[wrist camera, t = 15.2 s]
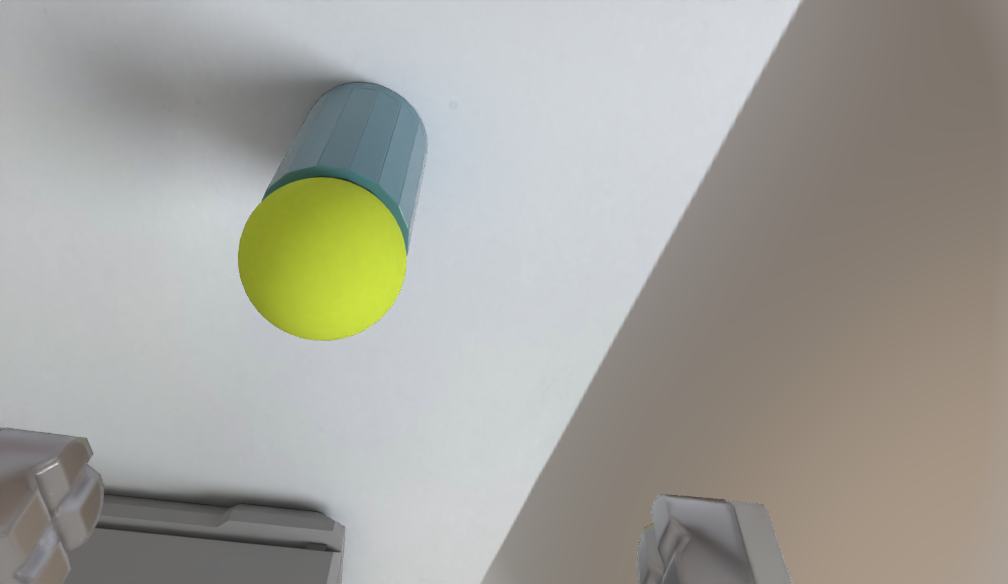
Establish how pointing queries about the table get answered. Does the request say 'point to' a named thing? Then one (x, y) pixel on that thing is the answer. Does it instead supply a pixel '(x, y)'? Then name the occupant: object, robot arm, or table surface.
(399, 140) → the cup
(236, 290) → the table surface
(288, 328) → the tennis ball
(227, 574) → the laptop
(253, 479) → the table surface
